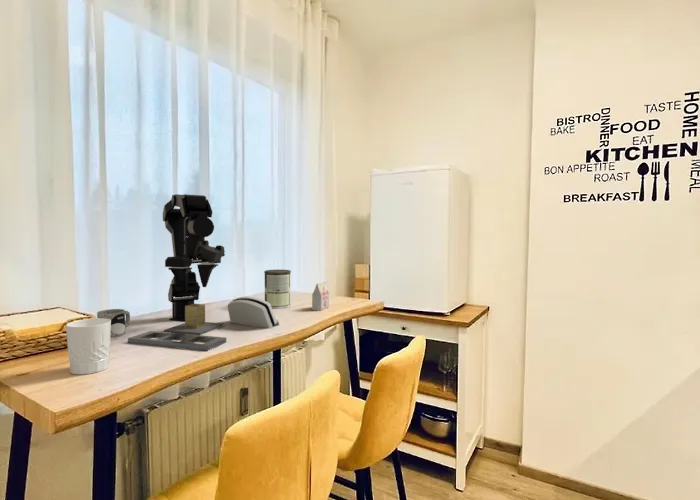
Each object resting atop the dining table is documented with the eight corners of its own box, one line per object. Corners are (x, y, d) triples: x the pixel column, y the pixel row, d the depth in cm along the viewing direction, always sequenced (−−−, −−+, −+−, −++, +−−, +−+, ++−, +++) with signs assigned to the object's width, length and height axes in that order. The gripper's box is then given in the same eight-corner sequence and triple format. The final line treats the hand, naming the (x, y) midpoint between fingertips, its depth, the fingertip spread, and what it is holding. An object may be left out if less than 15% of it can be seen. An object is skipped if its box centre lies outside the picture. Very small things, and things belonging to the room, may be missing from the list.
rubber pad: (164, 331, 113) (164, 329, 113) (191, 322, 124) (191, 320, 124) (199, 335, 110) (199, 332, 110) (224, 325, 121) (224, 323, 121)
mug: (112, 338, 106) (111, 314, 105) (91, 337, 107) (91, 313, 107) (139, 329, 115) (138, 307, 115) (119, 328, 117) (119, 306, 116)
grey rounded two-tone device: (280, 324, 123) (273, 296, 119) (271, 333, 119) (264, 304, 115) (241, 319, 130) (233, 292, 127) (231, 326, 127) (223, 299, 123)
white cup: (81, 363, 86) (80, 318, 85) (119, 362, 86) (118, 318, 86) (57, 376, 78) (56, 327, 77) (99, 375, 78) (98, 326, 78)
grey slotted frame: (127, 342, 101) (127, 338, 101) (151, 335, 109) (150, 330, 109) (207, 350, 95) (207, 346, 95) (226, 342, 103) (226, 337, 103)
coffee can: (259, 305, 154) (259, 270, 153) (281, 302, 161) (281, 269, 160) (273, 309, 146) (273, 272, 146) (295, 306, 154) (296, 270, 153)
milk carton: (312, 310, 147) (312, 283, 146) (320, 307, 153) (320, 281, 152) (320, 311, 145) (321, 284, 145) (328, 307, 151) (329, 282, 151)
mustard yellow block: (185, 327, 116) (185, 305, 115) (193, 324, 119) (193, 303, 119) (196, 328, 115) (196, 306, 114) (205, 325, 118) (205, 304, 118)
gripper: (198, 237, 105) (198, 294, 105) (235, 237, 123) (235, 286, 123) (163, 237, 108) (164, 293, 108) (204, 236, 126) (205, 284, 126)
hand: (195, 289), depth 116 cm, fingers open, 9 cm apart
